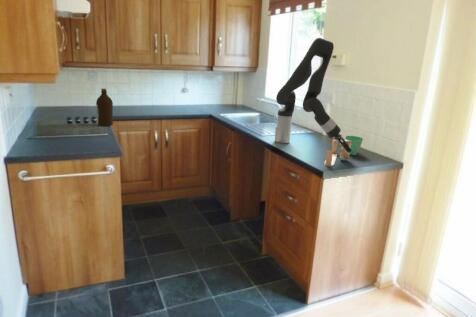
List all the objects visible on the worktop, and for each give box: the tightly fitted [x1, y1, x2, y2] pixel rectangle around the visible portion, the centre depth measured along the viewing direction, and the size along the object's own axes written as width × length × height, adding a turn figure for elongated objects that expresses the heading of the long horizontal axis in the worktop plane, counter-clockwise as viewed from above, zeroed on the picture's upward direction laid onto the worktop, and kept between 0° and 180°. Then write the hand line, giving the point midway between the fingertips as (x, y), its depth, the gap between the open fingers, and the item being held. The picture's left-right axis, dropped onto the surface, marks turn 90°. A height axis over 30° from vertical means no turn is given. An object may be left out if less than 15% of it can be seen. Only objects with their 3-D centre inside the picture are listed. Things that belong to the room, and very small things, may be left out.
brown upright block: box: [339, 139, 352, 160], centre depth 199 cm, size 5×5×10 cm
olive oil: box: [95, 88, 114, 127], centre depth 249 cm, size 11×11×25 cm
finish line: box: [323, 139, 339, 168], centre depth 201 cm, size 5×31×8 cm, turn 160°
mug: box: [344, 135, 364, 156], centre depth 217 cm, size 15×10×10 cm
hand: (348, 150), depth 200 cm, fingers closed on brown upright block, 5 cm apart
